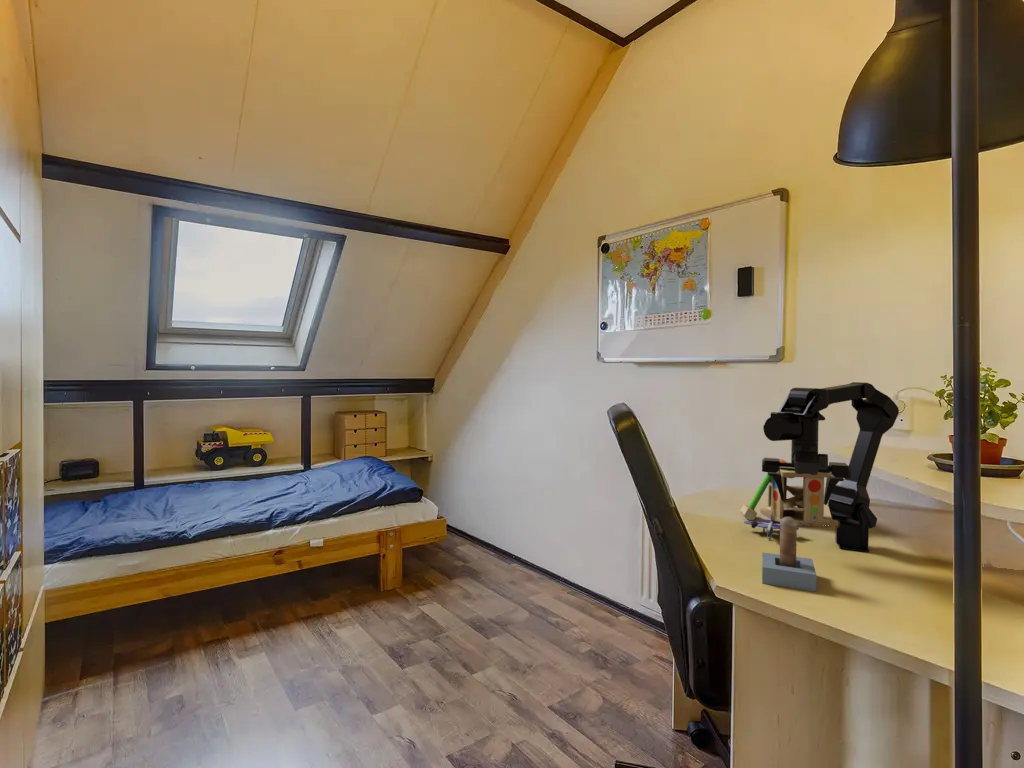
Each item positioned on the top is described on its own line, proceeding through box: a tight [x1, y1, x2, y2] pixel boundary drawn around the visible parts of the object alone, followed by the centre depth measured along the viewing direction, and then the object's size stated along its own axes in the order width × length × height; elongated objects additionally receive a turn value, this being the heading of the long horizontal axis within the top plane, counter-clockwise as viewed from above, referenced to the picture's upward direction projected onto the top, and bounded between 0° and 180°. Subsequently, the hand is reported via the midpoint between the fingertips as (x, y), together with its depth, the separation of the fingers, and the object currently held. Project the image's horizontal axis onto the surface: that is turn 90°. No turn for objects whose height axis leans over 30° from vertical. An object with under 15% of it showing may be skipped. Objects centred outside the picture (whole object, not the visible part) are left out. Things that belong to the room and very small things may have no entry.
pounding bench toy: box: [739, 458, 832, 527], centre depth 161 cm, size 23×14×18 cm, turn 89°
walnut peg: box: [779, 517, 798, 568], centre depth 116 cm, size 3×3×14 cm
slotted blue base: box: [761, 552, 817, 593], centre depth 116 cm, size 10×10×4 cm
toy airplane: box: [743, 512, 800, 541], centre depth 145 cm, size 13×14×4 cm
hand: (803, 502), depth 130 cm, fingers open, 9 cm apart
